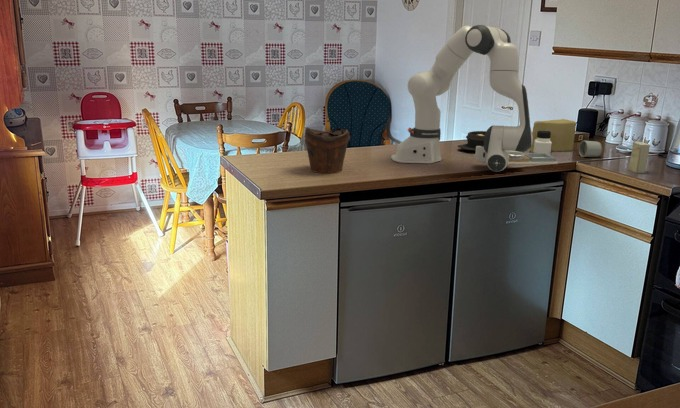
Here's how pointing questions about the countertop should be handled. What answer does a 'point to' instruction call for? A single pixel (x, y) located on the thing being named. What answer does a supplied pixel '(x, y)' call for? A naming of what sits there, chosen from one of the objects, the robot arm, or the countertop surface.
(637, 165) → the skincare box
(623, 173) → the countertop surface
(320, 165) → the wooden bucket
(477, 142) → the casserole
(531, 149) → the cheese
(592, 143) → the ceramic mug
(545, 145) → the medicine bottle
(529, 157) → the seat plate
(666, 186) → the countertop surface
